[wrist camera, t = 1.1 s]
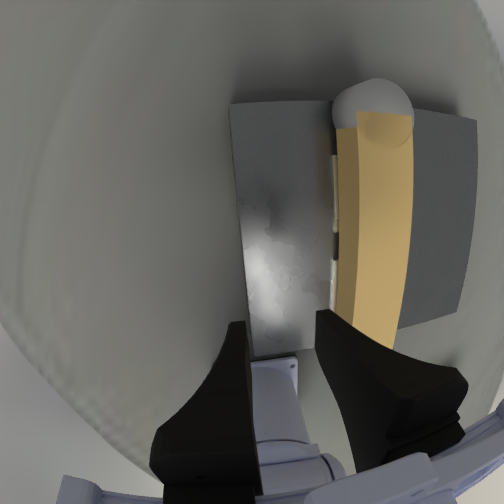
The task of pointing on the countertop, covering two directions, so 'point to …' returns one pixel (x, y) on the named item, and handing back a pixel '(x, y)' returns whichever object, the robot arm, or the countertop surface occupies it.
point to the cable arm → (373, 204)
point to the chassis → (327, 216)
